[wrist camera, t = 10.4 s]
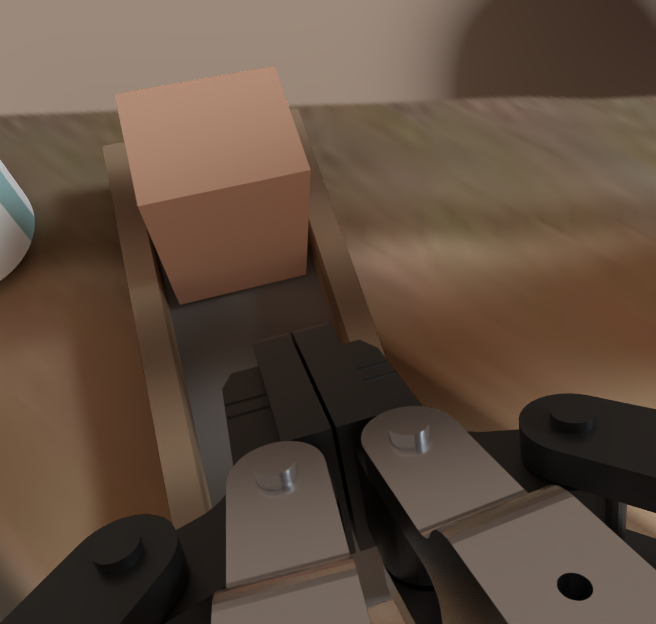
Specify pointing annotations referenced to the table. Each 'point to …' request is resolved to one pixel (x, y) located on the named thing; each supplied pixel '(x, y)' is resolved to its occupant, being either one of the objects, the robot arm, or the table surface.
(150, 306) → the chute
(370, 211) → the table surface
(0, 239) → the can
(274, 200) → the block
